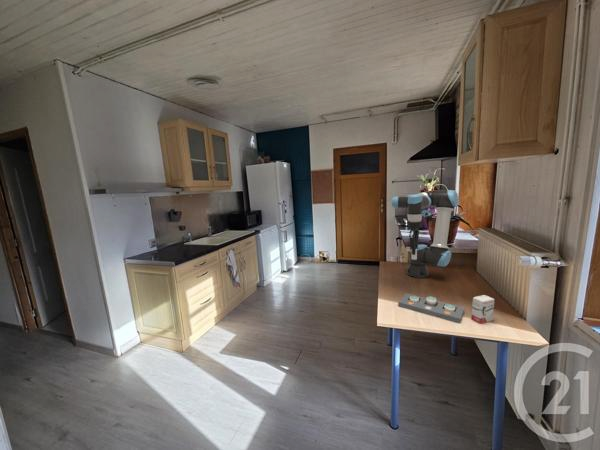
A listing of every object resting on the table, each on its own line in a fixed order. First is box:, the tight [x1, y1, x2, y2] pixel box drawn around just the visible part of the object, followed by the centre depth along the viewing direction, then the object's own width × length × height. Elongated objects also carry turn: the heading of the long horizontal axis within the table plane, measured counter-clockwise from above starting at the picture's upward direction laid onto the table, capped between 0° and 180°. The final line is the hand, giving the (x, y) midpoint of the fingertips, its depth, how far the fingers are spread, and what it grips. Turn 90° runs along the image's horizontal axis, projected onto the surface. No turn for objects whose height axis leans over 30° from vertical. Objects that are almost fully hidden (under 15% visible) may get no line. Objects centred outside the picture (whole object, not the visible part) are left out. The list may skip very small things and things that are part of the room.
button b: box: [426, 295, 437, 307], centre depth 136 cm, size 5×5×4 cm
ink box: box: [471, 294, 495, 324], centre depth 121 cm, size 9×5×12 cm, turn 106°
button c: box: [444, 303, 456, 312], centre depth 130 cm, size 5×5×4 cm
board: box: [397, 293, 465, 324], centre depth 135 cm, size 14×30×3 cm, turn 49°
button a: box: [410, 295, 419, 302], centre depth 142 cm, size 5×5×4 cm
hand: (414, 259), depth 147 cm, fingers closed
